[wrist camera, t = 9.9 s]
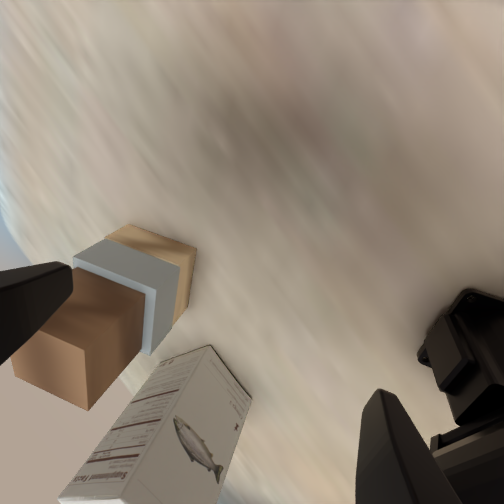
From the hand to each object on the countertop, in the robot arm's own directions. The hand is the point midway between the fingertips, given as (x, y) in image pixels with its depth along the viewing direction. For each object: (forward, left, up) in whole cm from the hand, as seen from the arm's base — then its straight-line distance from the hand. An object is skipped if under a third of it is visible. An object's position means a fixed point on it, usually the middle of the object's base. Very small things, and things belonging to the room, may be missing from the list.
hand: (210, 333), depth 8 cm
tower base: (+9, +9, -13) cm, 18 cm away
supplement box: (+3, +20, -13) cm, 24 cm away
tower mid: (+9, +9, -10) cm, 16 cm away
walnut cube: (+9, +9, -7) cm, 15 cm away
